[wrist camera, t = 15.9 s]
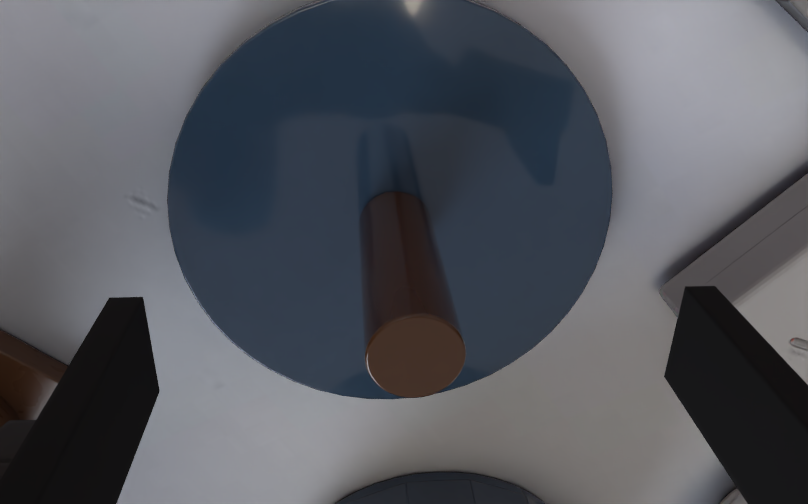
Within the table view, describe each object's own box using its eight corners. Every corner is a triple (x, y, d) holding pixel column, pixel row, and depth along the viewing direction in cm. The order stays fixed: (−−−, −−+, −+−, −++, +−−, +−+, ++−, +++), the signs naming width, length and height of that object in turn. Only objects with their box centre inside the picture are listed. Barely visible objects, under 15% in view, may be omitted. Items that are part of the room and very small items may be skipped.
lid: (201, 386, 27) (143, 585, 19) (143, -19, 20) (19, 35, 12) (572, 374, 28) (660, 557, 20) (633, -14, 21) (799, 38, 14)
